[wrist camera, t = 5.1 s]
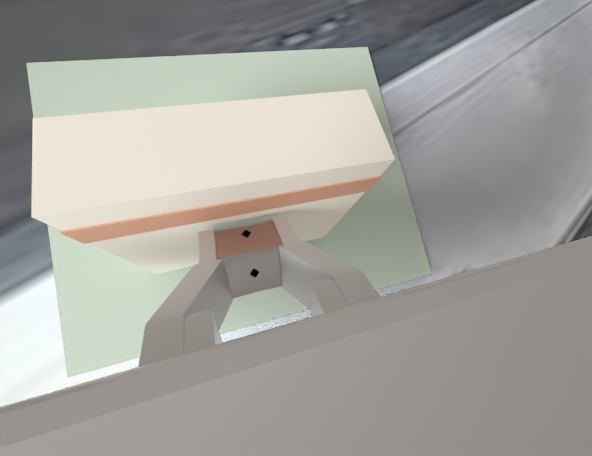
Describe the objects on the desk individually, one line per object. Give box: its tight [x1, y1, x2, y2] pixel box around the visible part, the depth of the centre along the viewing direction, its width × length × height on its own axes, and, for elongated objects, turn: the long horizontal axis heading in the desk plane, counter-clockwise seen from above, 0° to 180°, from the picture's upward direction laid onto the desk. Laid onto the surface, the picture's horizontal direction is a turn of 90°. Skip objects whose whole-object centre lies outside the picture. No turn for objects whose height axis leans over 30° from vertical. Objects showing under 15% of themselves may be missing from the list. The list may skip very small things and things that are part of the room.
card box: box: [31, 89, 395, 274], centre depth 11 cm, size 9×3×8 cm, turn 103°
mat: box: [27, 47, 432, 377], centre depth 16 cm, size 20×16×1 cm
